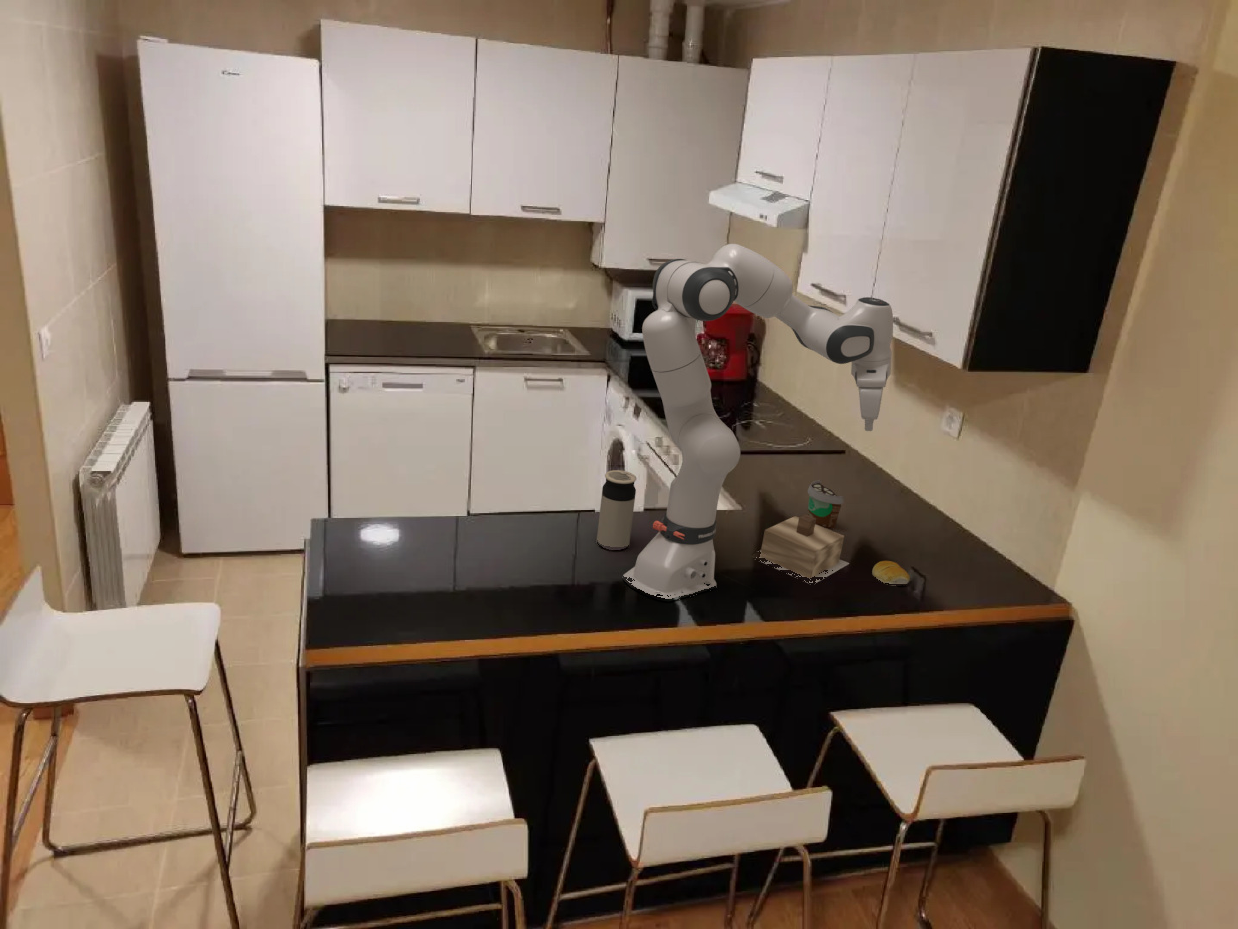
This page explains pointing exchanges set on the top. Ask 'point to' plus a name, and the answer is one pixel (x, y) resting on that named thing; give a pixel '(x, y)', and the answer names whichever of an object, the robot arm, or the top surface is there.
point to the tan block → (802, 546)
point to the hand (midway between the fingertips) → (868, 421)
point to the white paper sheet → (834, 568)
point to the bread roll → (890, 573)
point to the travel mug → (616, 509)
